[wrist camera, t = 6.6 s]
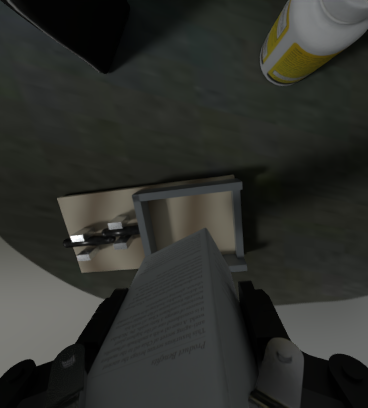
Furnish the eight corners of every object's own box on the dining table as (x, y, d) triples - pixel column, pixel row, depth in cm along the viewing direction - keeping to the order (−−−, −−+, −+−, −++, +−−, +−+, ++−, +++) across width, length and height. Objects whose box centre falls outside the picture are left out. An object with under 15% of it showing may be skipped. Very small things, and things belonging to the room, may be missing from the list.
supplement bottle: (323, 67, 18) (453, -18, 9) (270, 97, 19) (337, 49, 10) (305, 8, 17) (431, -160, 8) (249, 44, 18) (303, -67, 9)
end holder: (237, 178, 21) (242, 181, 19) (242, 258, 24) (247, 270, 21) (138, 190, 22) (131, 195, 20) (154, 265, 25) (149, 277, 23)
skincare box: (169, 293, 17) (104, 618, 5) (143, 256, 16) (-7, 546, 4) (232, 266, 15) (333, 615, 4) (207, 224, 14) (243, 511, 3)
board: (232, 174, 22) (234, 175, 21) (238, 256, 25) (239, 260, 24) (62, 196, 24) (57, 198, 23) (85, 268, 27) (81, 272, 26)
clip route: (142, 213, 23) (136, 220, 21) (149, 245, 24) (144, 255, 22) (60, 222, 24) (45, 229, 22) (70, 252, 26) (57, 263, 23)
